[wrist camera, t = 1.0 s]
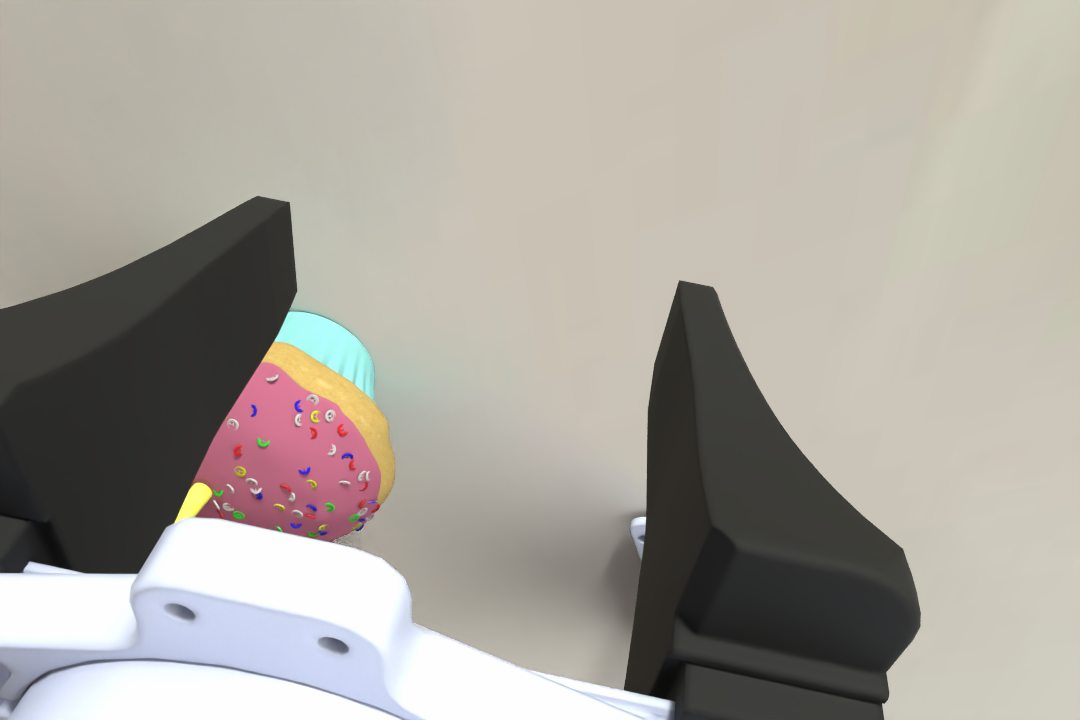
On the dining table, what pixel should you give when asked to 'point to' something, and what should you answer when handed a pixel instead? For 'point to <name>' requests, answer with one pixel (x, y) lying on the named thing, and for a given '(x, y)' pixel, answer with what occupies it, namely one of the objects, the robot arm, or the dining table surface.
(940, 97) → the dining table surface
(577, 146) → the dining table surface
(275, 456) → the cupcake
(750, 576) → the robot arm
